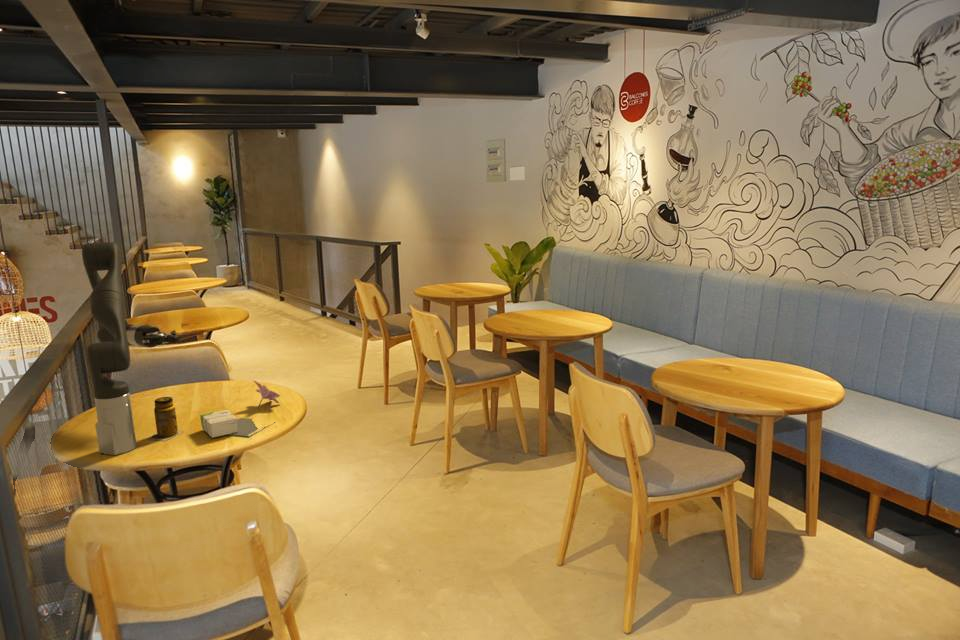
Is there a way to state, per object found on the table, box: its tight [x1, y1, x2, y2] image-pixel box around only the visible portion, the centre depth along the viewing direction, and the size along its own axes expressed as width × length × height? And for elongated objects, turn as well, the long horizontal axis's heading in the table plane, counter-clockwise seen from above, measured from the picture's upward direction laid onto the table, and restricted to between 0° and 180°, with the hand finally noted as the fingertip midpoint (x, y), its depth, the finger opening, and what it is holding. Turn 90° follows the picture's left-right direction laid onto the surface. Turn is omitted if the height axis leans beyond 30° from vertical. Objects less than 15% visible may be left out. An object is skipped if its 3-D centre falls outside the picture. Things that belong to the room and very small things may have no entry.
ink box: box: [200, 409, 239, 438], centre depth 211 cm, size 9×5×12 cm
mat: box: [226, 417, 266, 438], centre depth 214 cm, size 14×14×1 cm
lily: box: [252, 379, 281, 409], centre depth 235 cm, size 12×12×10 cm
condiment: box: [146, 396, 185, 442], centre depth 209 cm, size 7×8×12 cm
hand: (177, 339), depth 219 cm, fingers closed
